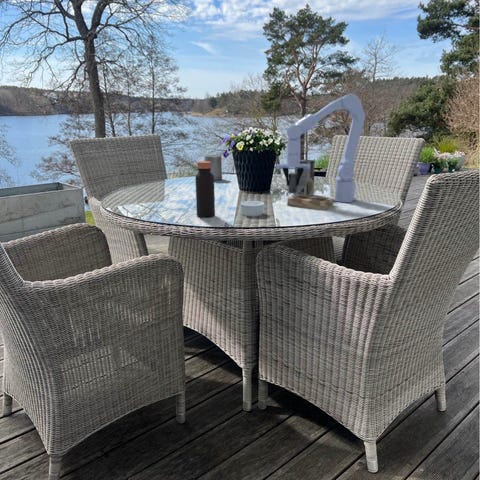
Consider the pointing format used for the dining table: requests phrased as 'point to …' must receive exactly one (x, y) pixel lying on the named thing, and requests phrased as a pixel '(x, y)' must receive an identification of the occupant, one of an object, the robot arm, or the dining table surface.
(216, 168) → the pillar candle
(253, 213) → the ramekin
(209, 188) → the bottle
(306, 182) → the coffee box
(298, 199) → the socket block
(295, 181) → the grey rounded cylinder
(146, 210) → the dining table surface
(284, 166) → the robot arm
